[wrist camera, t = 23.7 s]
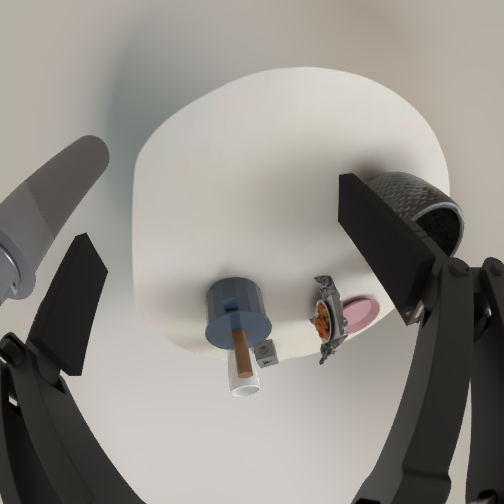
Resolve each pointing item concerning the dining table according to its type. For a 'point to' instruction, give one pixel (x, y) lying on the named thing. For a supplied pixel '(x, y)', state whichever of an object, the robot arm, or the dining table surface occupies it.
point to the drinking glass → (242, 385)
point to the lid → (239, 335)
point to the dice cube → (265, 354)
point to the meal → (329, 318)
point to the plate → (360, 314)
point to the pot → (233, 297)
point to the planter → (422, 207)
